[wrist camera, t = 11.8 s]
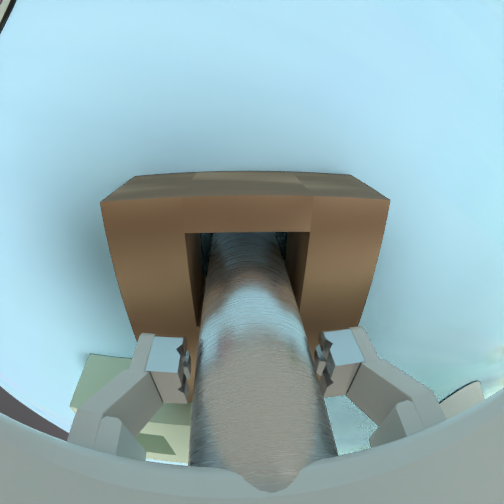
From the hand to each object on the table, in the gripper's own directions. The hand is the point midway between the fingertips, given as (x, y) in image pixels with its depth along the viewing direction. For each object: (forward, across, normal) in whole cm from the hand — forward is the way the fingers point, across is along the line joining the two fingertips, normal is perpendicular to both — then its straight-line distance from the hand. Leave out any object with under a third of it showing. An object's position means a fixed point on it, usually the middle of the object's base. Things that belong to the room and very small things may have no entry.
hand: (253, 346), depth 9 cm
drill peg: (+8, 0, 0) cm, 8 cm away
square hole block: (+8, +9, +16) cm, 20 cm away
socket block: (+8, 0, +3) cm, 9 cm away
